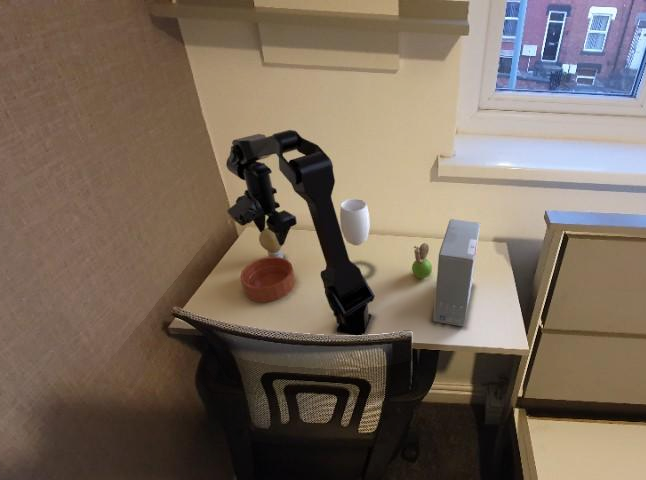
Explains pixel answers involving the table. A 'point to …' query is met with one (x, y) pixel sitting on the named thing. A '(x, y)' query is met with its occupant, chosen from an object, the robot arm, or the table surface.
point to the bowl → (268, 279)
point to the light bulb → (270, 243)
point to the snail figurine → (421, 262)
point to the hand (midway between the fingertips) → (271, 238)
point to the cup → (354, 221)
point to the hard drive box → (456, 272)
